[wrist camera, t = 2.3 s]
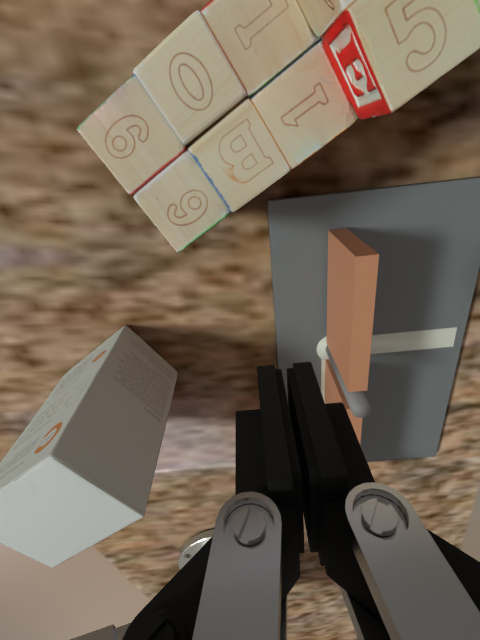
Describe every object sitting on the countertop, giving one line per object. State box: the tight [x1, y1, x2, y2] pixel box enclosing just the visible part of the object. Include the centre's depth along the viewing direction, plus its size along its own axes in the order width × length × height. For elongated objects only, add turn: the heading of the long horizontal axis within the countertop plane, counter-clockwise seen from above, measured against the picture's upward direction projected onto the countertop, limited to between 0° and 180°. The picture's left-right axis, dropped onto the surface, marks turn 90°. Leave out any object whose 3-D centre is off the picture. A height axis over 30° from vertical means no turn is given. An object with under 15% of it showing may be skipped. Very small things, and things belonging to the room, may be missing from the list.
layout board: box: [267, 176, 480, 462], centre depth 28 cm, size 26×15×1 cm, turn 6°
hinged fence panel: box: [325, 228, 379, 418], centre depth 22 cm, size 10×1×7 cm, turn 6°
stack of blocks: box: [77, 0, 480, 252], centre depth 14 cm, size 21×6×12 cm, turn 125°
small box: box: [0, 326, 178, 568], centre depth 24 cm, size 8×6×13 cm
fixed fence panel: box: [325, 359, 362, 444], centre depth 28 cm, size 12×2×7 cm, turn 6°
